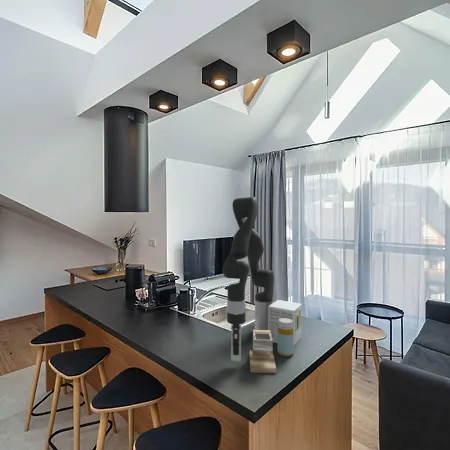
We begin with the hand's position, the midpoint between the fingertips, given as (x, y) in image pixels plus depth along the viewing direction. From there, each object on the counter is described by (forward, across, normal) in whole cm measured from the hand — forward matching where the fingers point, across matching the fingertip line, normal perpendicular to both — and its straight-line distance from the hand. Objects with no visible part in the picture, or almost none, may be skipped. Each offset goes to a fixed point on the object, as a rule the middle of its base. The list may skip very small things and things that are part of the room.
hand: (236, 351), depth 116 cm
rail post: (+3, 0, 0) cm, 3 cm away
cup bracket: (+6, -3, +11) cm, 13 cm away
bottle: (+7, -13, +22) cm, 26 cm away
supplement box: (+7, -28, +24) cm, 37 cm away
